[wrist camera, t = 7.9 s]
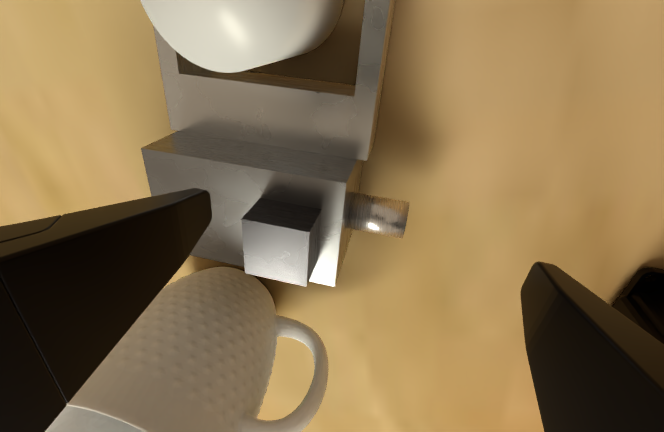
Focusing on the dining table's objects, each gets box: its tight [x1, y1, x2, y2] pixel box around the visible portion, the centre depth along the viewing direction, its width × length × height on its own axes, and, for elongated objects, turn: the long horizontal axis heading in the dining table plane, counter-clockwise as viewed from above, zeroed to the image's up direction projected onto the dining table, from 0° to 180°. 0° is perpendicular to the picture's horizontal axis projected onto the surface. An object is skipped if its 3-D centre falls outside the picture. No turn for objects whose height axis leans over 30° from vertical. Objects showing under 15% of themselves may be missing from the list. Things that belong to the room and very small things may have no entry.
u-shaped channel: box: [141, 0, 409, 287], centre depth 16 cm, size 14×17×8 cm
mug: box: [45, 267, 328, 432], centre depth 23 cm, size 15×11×13 cm
